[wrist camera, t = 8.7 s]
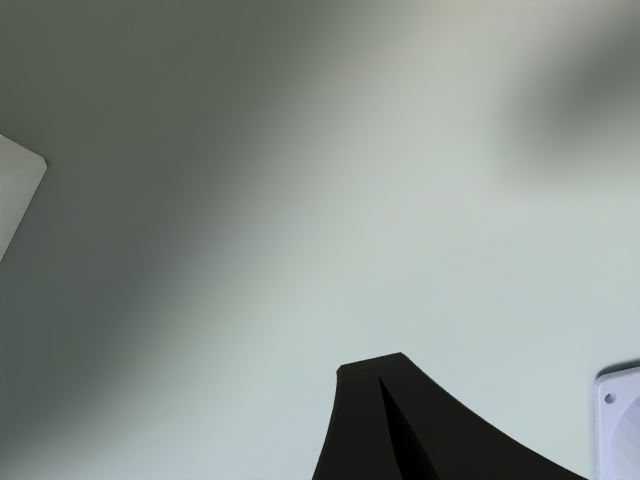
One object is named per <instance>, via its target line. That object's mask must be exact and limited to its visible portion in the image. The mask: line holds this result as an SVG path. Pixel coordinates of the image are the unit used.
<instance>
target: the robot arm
mask: <svg viewBox="0 0 640 480" xmlns="http://www.w3.org/2000/svg"><path fill="white" fill-rule="evenodd" d="M336 373H337V386H336V394H335V400H334V406H333V411H332V415H331V419H330V423H329V427H328V431H327V435H326V438H325V442H324V445H323V448H322V451H321V454H320V457H319V460H318V463H317V466H316V469H315V472H314V475H313V477H312V480H588V479H586V478H584V477H582V476H579V475H577V474H575V473H573V472H571V471H569V470H568V469H566V468H564V467H562V466H560V465H558V464H556V463H554V462H552V461H550V460H549V459H547V458H545V457H543V456H541V455H540V454H538V453H536V452H534V451H532V450H531V449H529V448H527V447H525V446H524V445H522V444H520V443H519V442H517V441H516V440H514V439H512V438H511V437H509V436H508V435H506V434H504V433H503V432H502V431H500V430H499V429H497V428H496V427H494V426H493V425H491V424H490V423H488V422H487V421H485V420H484V419H482V418H481V417H480V416H478V415H477V414H475V413H474V412H473V411H471V410H470V409H469V408H467V407H466V406H465V405H463V404H462V403H461V402H459V401H458V400H457V399H456V398H454V397H453V396H452V395H450V394H449V393H448V392H447V391H445V390H444V389H443V388H442V387H440V386H439V385H438V384H437V383H436V382H435V381H433V380H432V379H431V378H430V377H429V376H427V375H426V374H425V373H424V372H423V371H422V370H421V369H420V368H419V367H417V366H416V365H415V364H414V363H413V362H412V361H411V360H410V359H409V358H408V357H407V356H405V355H404V354H402V353H401V352H399V353H395V354H390V355H385V356H381V357H376V358H372V359H367V360H363V361H358V362H354V363H349V364H345V365H341V366H340V367H339V369H338V370H337V371H336ZM608 394H610V395H609V396H608V397H606V396H607V395H608ZM605 397H606V398H605ZM594 402H595V439H596V475H597V480H640V367H635V368H631V369H626V370H622V371H617V372H613V373H608V374H604V375H602V376H600V377H599V378H598V379H597V380H596V382H595V384H594Z"/></svg>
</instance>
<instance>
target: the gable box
mask: <svg viewBox="0 0 640 480" xmlns="http://www.w3.org/2000/svg"><path fill="white" fill-rule="evenodd" d="M46 169H47V165H46V162H45V160H44V158H43V157H41V156H39V155H37V154H35V153H33V152H32V151H30V150H28V149H26V148H24V147H23V146H21V145H19V144H17V143H15V142H13V141H12V140H10V139H8V138H6V137H4V136H2V135H1V134H0V262H1V260H2V258H3V256H4V254H5V252H6V250H7V248H8V246H9V243H10V241H11V239H12V237H13V235H14V233H15V231H16V229H17V227H18V225H19V223H20V221H21V219H22V217H23V215H24V213H25V211H26V209H27V207H28V205H29V203H30V201H31V199H32V197H33V195H34V193H35V191H36V189H37V187H38V185H39V183H40V181H41V179H42V177H43V175H44V173H45V171H46Z"/></svg>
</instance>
